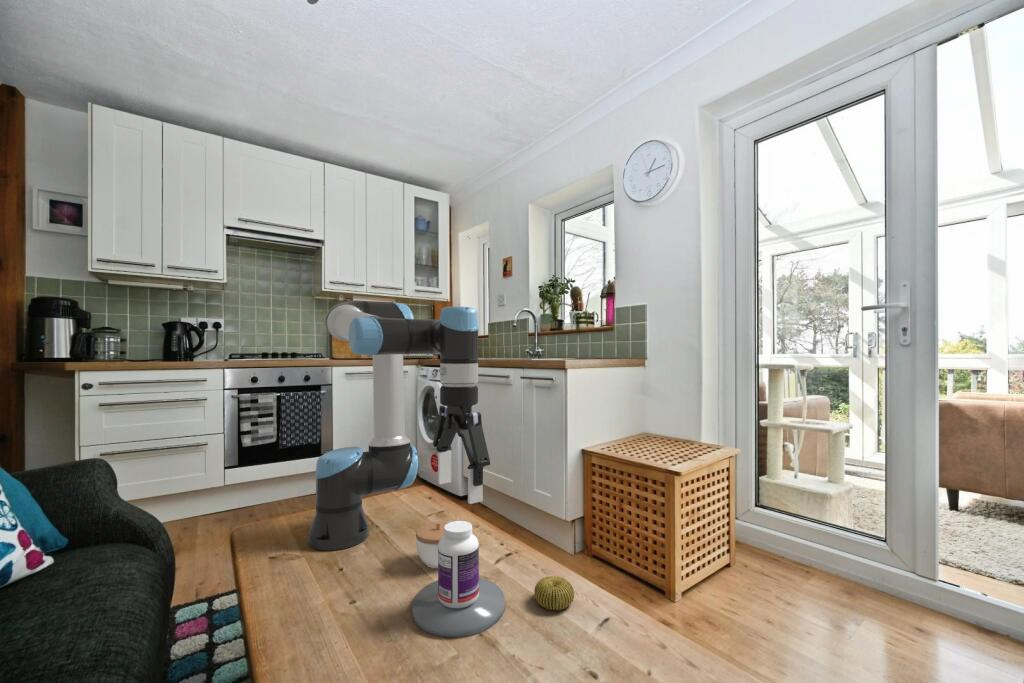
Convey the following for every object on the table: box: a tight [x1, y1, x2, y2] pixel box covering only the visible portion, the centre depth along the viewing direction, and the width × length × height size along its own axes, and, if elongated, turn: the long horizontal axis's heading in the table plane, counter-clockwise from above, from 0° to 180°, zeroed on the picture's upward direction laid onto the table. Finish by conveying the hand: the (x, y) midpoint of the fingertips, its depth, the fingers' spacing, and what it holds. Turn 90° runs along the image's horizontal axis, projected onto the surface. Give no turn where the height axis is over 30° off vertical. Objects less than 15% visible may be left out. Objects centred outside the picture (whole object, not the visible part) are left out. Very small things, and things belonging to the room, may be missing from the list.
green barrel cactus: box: [533, 575, 575, 611], centre depth 88 cm, size 8×4×8 cm
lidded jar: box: [415, 520, 451, 569], centre depth 104 cm, size 11×11×9 cm
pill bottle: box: [437, 520, 480, 608], centre depth 86 cm, size 8×8×14 cm
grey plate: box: [411, 576, 506, 638], centre depth 86 cm, size 18×18×2 cm
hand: (459, 492), depth 87 cm, fingers open, 13 cm apart
